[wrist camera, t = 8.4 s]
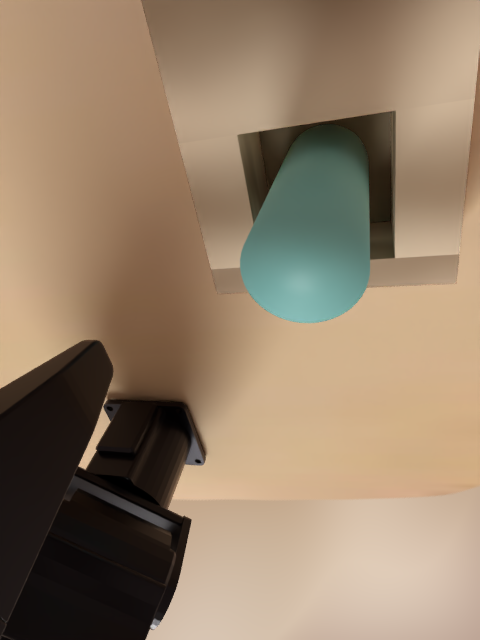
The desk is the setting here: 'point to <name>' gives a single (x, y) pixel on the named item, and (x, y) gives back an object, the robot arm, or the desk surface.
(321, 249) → the peg
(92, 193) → the desk surface
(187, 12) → the socket block
